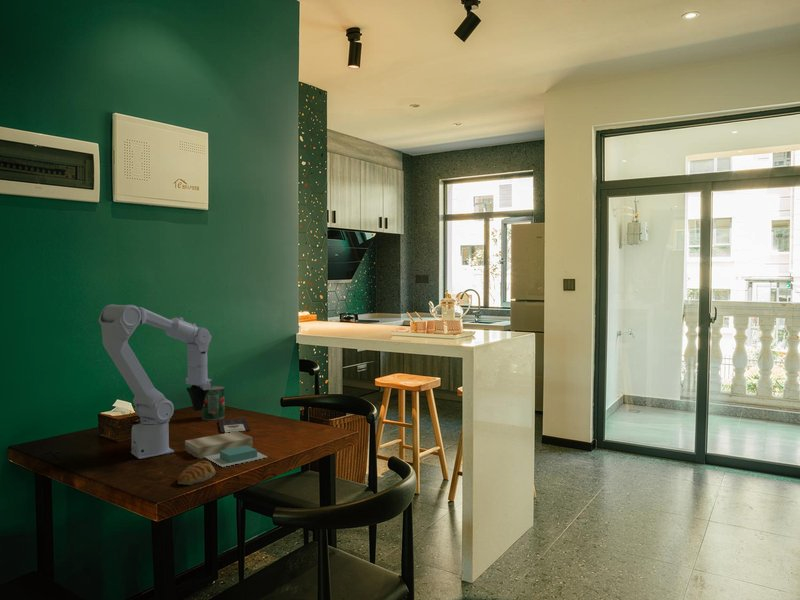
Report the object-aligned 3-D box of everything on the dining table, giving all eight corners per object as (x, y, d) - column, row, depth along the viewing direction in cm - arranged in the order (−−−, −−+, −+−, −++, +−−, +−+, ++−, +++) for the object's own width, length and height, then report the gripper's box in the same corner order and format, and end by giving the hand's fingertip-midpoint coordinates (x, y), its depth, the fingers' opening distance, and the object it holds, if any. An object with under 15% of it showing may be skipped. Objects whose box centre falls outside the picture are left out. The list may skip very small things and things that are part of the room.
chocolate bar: (244, 417, 201) (249, 429, 184) (244, 420, 201) (249, 432, 184) (218, 420, 198) (220, 432, 181) (218, 422, 198) (220, 435, 181)
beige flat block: (198, 458, 154) (198, 447, 154) (185, 450, 162) (185, 440, 162) (252, 447, 165) (252, 437, 165) (237, 440, 172) (237, 431, 172)
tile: (219, 450, 154) (219, 458, 154) (229, 455, 149) (229, 463, 149) (247, 445, 159) (247, 452, 159) (257, 449, 154) (257, 457, 154)
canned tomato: (229, 417, 204) (228, 387, 203) (209, 421, 198) (208, 390, 198) (217, 414, 209) (216, 384, 209) (197, 418, 203) (197, 387, 203)
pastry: (193, 488, 132) (192, 472, 132) (169, 485, 134) (169, 470, 134) (217, 475, 141) (217, 460, 141) (195, 473, 143) (194, 458, 143)
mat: (222, 468, 146) (222, 466, 146) (204, 457, 155) (204, 456, 155) (267, 458, 155) (267, 456, 155) (248, 448, 164) (248, 447, 164)
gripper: (220, 367, 169) (220, 412, 169) (201, 362, 180) (201, 404, 180) (196, 369, 165) (197, 415, 165) (178, 364, 175) (179, 407, 176)
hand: (198, 410), depth 172 cm, fingers closed
